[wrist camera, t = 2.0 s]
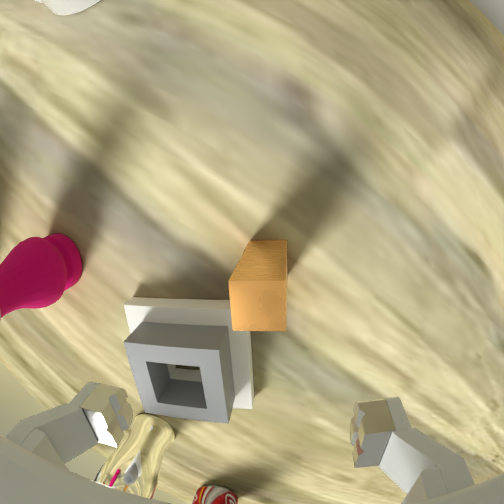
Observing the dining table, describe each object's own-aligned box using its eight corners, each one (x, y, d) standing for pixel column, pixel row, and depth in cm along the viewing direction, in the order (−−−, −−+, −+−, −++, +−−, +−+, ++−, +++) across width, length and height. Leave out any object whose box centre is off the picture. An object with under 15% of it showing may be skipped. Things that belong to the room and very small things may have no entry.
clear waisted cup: (134, 403, 34) (82, 486, 20) (183, 425, 34) (145, 517, 20) (129, 430, 36) (85, 505, 22) (173, 450, 36) (139, 531, 22)
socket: (132, 297, 30) (103, 323, 24) (248, 300, 29) (238, 332, 23) (154, 387, 33) (135, 420, 27) (254, 397, 32) (247, 435, 26)
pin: (249, 240, 27) (228, 280, 17) (286, 239, 27) (285, 280, 17) (251, 275, 28) (232, 330, 18) (287, 275, 27) (285, 331, 18)
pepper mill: (38, 227, 29) (-102, 283, 10) (82, 229, 29) (-79, 299, 10) (46, 286, 31) (-74, 364, 12) (90, 293, 31) (-41, 394, 12)
